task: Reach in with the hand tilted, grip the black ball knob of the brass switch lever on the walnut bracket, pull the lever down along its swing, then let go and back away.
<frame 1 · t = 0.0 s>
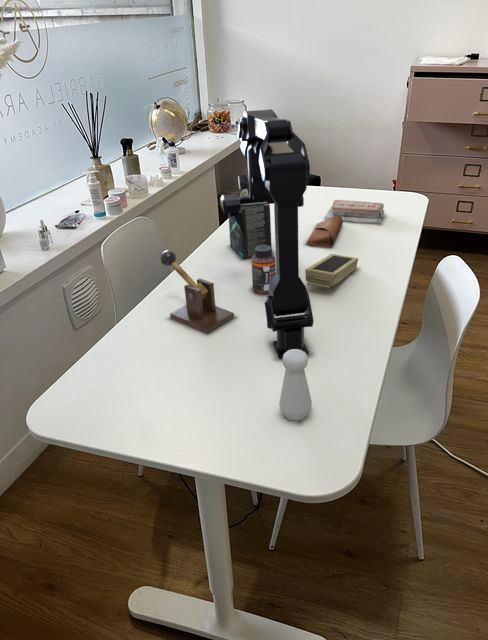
hand: (263, 235, 135), 15 cm above the table, tool pointing down, fingers open, 9 cm apart
salt shaker: (295, 414, 102), on the table
packaged product: (354, 217, 185), on the table
switch bracket: (202, 318, 132), on the table
box: (333, 278, 148), on the table
lever: (183, 274, 129), point 10 cm above the table, hinge at 32.0°
sunglasses case: (325, 236, 173), on the table
tampon box: (250, 250, 165), on the table
supplement bottle: (264, 290, 143), on the table
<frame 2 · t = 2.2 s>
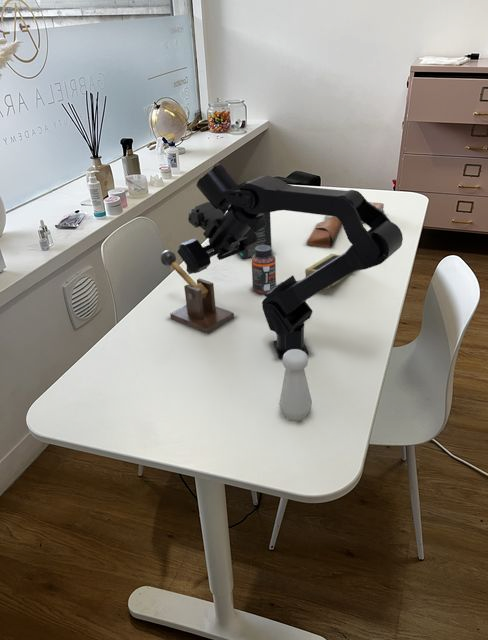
hand: (203, 265, 125), 13 cm above the table, tool tilted 40°, fingers open, 9 cm apart
nothing on the table moved.
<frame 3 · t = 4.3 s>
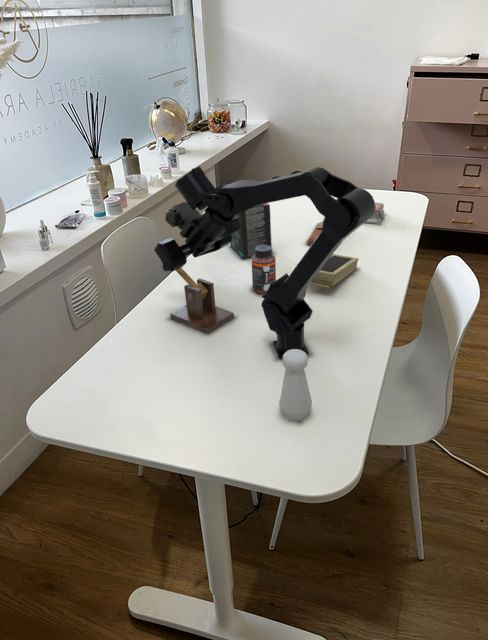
hand: (179, 262, 128), 13 cm above the table, tool tilted 45°, fingers open, 9 cm apart
nothing on the table moved.
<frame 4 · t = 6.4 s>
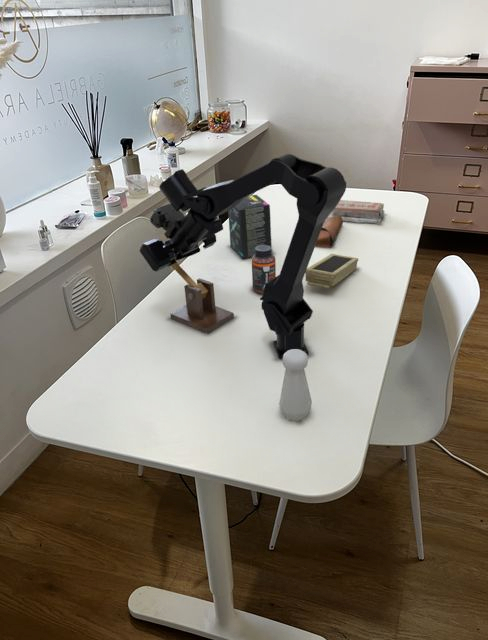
hand: (165, 262, 132), 11 cm above the table, tool tilted 45°, fingers closed on lever, 3 cm apart
lever: (183, 274, 129), point 10 cm above the table, hinge at 32.0°, touching gripper
everything else where it was.
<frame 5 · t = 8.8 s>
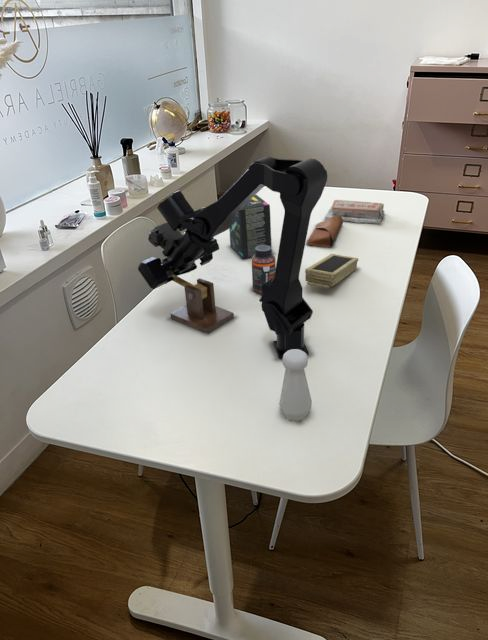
hand: (162, 278, 135), 7 cm above the table, tool tilted 45°, fingers closed on lever, 3 cm apart
lever: (181, 282, 131), point 8 cm above the table, hinge at 7.8°, touching gripper
everything else where it was.
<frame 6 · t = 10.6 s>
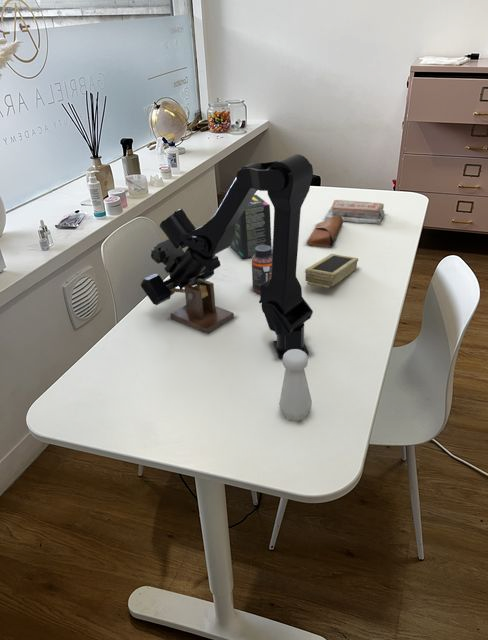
hand: (165, 293, 137), 3 cm above the table, tool tilted 45°, fingers open, 7 cm apart
lever: (183, 289, 132), point 6 cm above the table, hinge at -11.8°
everything else where it was.
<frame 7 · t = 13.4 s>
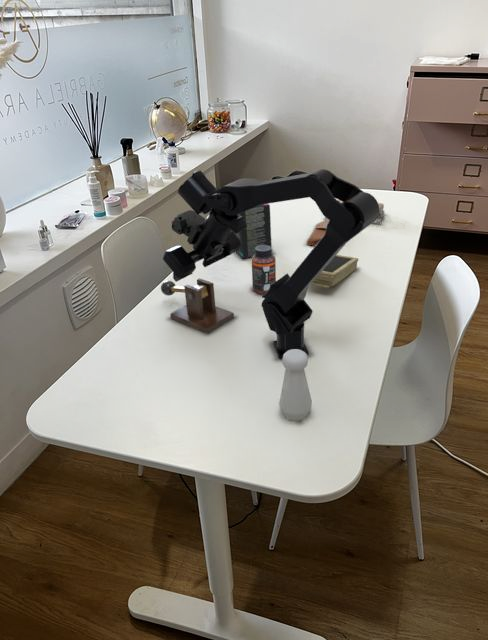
hand: (189, 272, 127), 11 cm above the table, tool tilted 40°, fingers open, 9 cm apart
nothing on the table moved.
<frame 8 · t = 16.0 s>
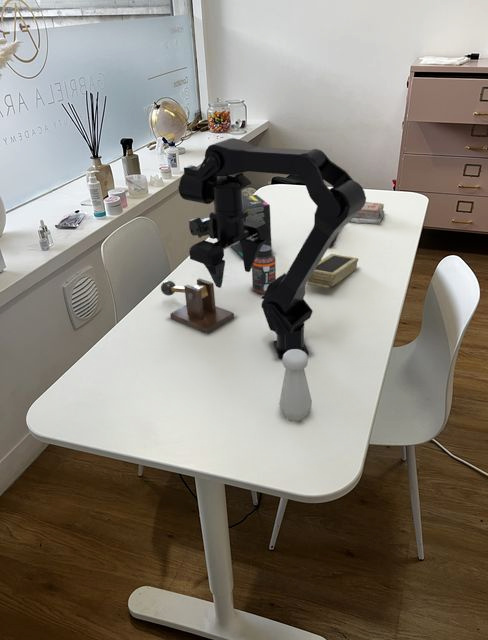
hand: (233, 279, 119), 13 cm above the table, tool pointing down, fingers open, 9 cm apart
nothing on the table moved.
at the end: lever at -12° (first picture: +32°) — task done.
